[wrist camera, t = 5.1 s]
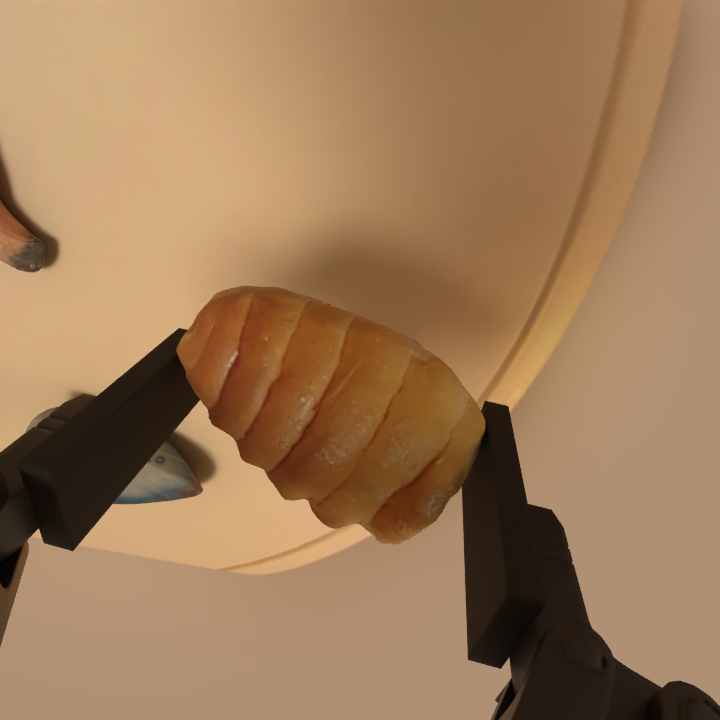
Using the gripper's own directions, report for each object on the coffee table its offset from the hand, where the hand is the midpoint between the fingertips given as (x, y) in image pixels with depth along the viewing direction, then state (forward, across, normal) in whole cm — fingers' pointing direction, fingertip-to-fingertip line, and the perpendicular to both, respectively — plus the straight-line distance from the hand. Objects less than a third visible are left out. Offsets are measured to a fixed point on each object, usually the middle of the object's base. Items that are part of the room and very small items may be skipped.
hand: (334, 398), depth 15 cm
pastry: (0, 0, 0) cm, 1 cm away
